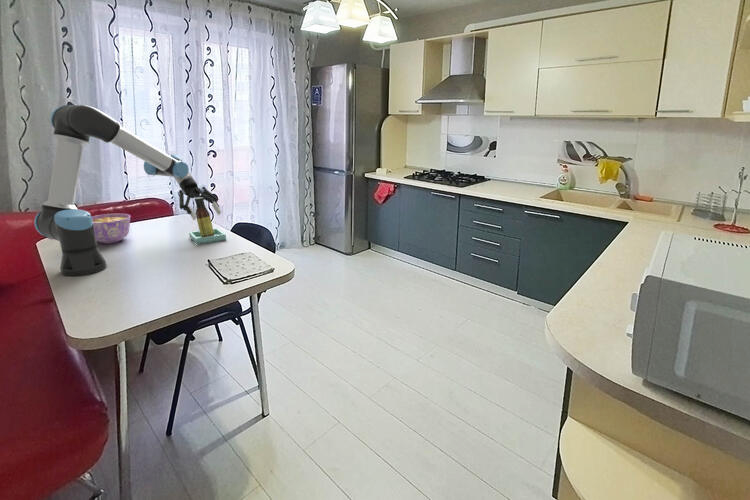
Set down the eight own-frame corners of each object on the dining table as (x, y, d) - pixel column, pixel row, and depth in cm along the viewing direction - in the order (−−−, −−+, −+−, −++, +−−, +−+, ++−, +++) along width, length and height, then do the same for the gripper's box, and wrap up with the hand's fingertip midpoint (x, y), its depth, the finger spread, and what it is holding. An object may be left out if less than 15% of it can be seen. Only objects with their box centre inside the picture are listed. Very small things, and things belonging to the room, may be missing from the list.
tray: (226, 240, 210) (225, 234, 209) (196, 244, 202) (195, 238, 201) (218, 233, 221) (217, 228, 220) (189, 238, 213) (189, 232, 212)
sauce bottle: (216, 235, 214) (209, 196, 208) (210, 238, 208) (203, 198, 202) (204, 235, 215) (196, 196, 209) (198, 239, 209) (190, 199, 203)
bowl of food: (119, 247, 197) (114, 223, 194) (76, 246, 198) (71, 222, 194) (142, 235, 216) (138, 213, 213) (103, 235, 217) (99, 213, 213)
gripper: (206, 183, 222) (226, 215, 219) (159, 190, 203) (181, 225, 199) (211, 174, 218) (232, 206, 214) (164, 180, 198) (186, 215, 195)
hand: (207, 215), depth 207 cm, fingers open, 13 cm apart
